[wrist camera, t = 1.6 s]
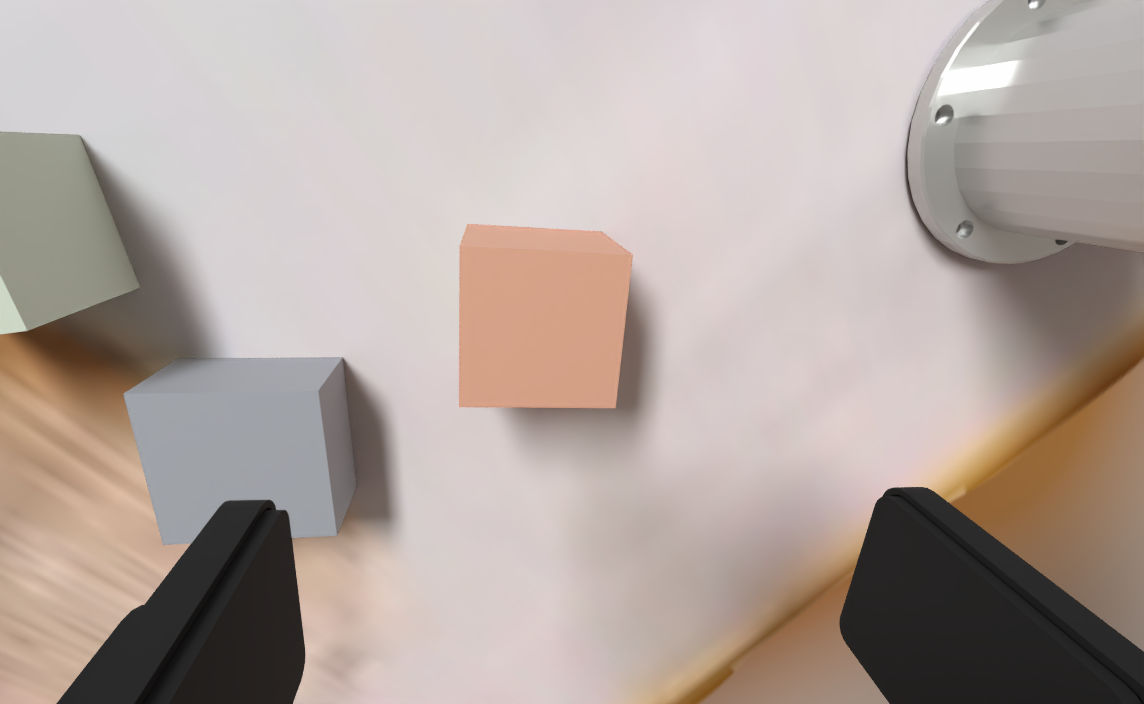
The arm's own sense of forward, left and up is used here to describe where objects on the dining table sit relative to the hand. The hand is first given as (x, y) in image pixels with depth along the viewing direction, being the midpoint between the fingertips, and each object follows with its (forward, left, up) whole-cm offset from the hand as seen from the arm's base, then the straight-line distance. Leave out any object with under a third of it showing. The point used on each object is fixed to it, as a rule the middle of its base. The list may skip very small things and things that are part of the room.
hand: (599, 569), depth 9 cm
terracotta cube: (0, 0, -18) cm, 18 cm away
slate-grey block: (+12, +7, -18) cm, 23 cm away
